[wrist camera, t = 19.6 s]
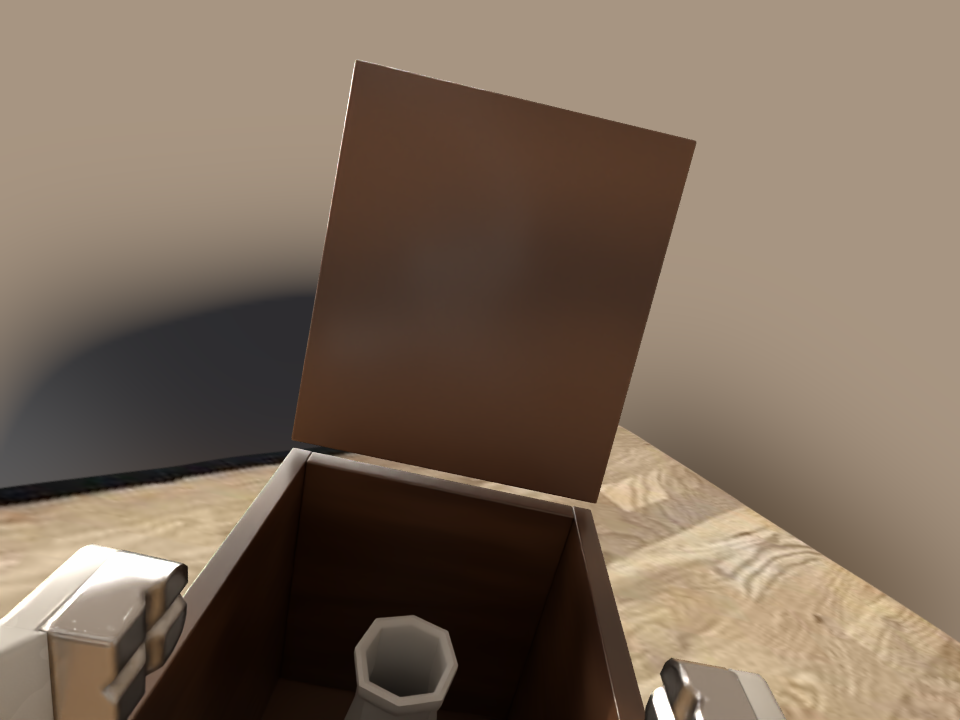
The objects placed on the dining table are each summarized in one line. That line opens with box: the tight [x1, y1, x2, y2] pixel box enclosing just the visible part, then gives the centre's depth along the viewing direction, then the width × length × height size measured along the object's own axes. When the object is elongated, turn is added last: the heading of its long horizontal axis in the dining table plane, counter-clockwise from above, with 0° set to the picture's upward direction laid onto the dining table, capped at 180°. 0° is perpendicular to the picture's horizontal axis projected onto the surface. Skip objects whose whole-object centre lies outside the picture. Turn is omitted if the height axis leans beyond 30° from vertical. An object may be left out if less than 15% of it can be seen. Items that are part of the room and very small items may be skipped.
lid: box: [292, 60, 696, 503], centre depth 21 cm, size 14×13×1 cm
